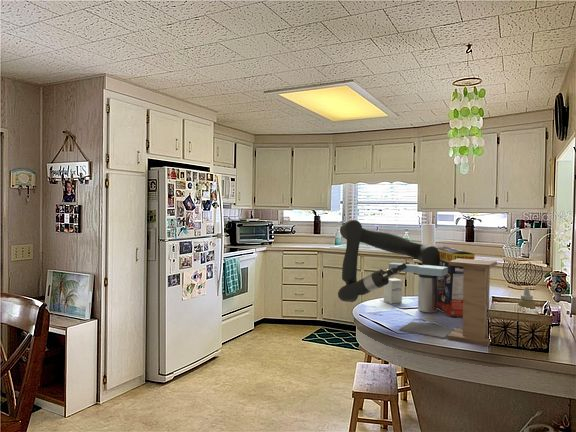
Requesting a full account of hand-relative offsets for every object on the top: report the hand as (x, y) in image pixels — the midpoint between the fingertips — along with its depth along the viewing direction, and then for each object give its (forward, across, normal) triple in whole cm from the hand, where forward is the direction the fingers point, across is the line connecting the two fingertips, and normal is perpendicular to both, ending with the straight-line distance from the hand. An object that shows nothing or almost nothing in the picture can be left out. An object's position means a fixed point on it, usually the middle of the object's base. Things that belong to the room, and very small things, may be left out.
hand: (407, 264), depth 189 cm
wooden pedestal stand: (+10, 0, +37) cm, 38 cm away
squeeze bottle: (+23, +30, +45) cm, 59 cm away
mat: (-6, 0, +28) cm, 29 cm away
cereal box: (-7, +41, +28) cm, 50 cm away
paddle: (+2, 0, +5) cm, 5 cm away
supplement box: (-35, +43, +12) cm, 57 cm away
